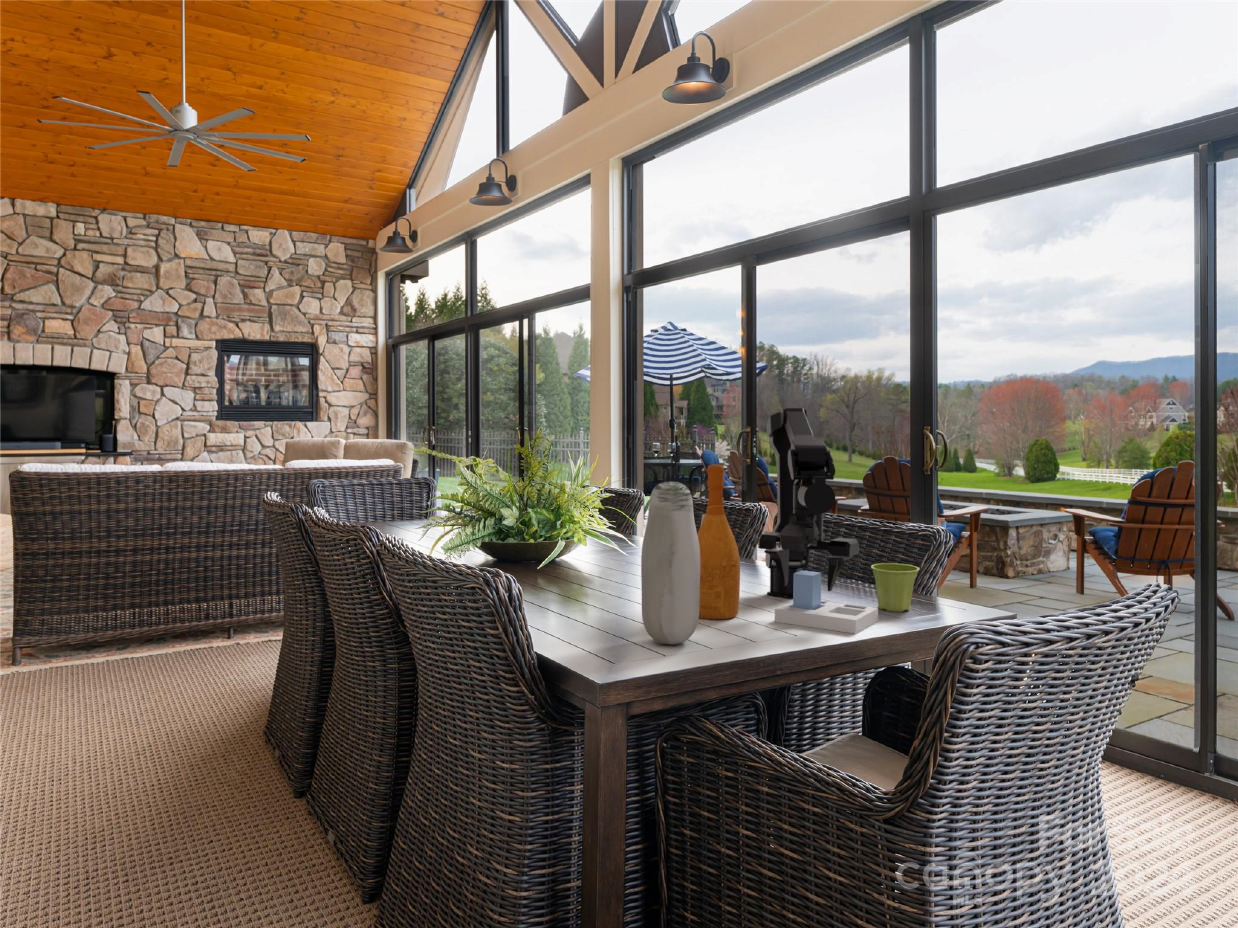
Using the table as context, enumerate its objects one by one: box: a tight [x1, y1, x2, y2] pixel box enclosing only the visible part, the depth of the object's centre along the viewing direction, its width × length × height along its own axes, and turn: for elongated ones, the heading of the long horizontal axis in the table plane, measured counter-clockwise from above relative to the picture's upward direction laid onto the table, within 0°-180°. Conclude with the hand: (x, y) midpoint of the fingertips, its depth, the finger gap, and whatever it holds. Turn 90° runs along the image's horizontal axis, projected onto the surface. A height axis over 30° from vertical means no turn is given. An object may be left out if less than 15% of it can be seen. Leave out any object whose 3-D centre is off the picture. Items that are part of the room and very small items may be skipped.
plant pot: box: [870, 562, 920, 613], centre depth 177 cm, size 9×9×9 cm
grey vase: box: [640, 481, 700, 646], centre depth 149 cm, size 10×10×28 cm
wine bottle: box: [697, 463, 741, 620], centre depth 170 cm, size 10×10×30 cm
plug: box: [792, 570, 822, 610], centre depth 168 cm, size 4×5×9 cm
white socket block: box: [774, 600, 879, 634], centre depth 166 cm, size 16×12×3 cm
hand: (807, 587), depth 168 cm, fingers open, 9 cm apart
